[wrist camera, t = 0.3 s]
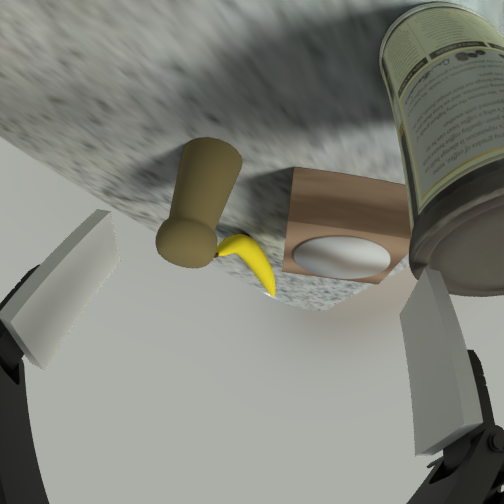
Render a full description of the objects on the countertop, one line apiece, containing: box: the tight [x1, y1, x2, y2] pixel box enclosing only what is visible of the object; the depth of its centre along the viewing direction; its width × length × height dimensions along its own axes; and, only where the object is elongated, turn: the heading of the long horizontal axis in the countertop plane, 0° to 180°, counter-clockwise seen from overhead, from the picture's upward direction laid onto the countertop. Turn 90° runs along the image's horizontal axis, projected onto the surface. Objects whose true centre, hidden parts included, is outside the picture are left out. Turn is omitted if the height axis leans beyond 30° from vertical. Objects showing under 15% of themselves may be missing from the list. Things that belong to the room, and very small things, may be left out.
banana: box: [214, 234, 275, 297], centre depth 44 cm, size 3×19×6 cm, turn 24°
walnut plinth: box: [282, 167, 411, 284], centre depth 32 cm, size 12×12×6 cm
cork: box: [156, 138, 242, 268], centre depth 27 cm, size 6×6×11 cm
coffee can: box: [379, 2, 504, 297], centre depth 11 cm, size 10×10×14 cm
